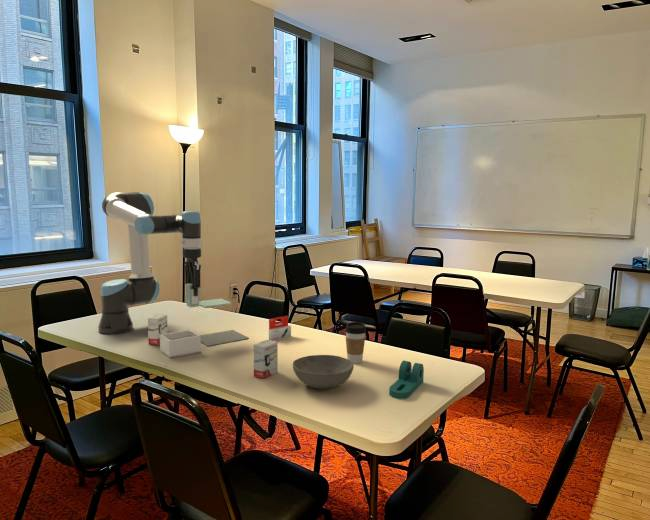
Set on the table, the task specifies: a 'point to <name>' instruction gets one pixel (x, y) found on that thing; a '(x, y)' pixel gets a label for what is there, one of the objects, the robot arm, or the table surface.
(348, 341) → the coffee cup
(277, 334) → the ink box
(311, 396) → the table surface
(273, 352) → the ink box
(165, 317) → the ink box
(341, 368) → the bowl
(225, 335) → the mat
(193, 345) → the tub
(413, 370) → the bracket
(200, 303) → the lid
